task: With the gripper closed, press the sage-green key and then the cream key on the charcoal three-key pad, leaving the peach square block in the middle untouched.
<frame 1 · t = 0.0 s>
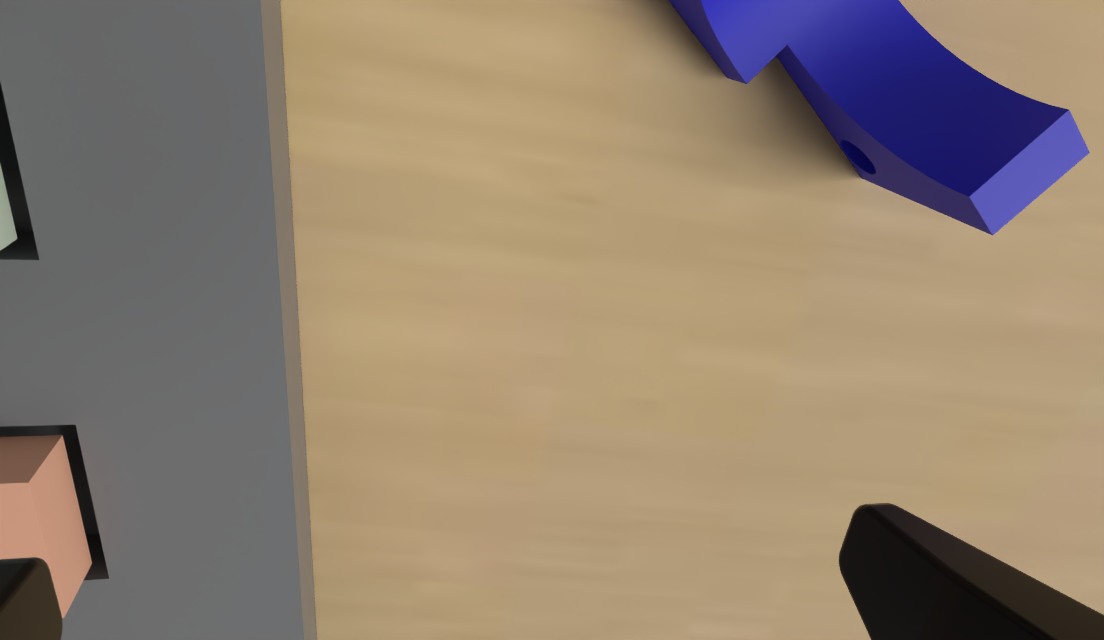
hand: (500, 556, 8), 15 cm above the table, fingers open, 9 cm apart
cable clip: (778, 20, 21), on the table
keypad: (31, 446, 22), on the table
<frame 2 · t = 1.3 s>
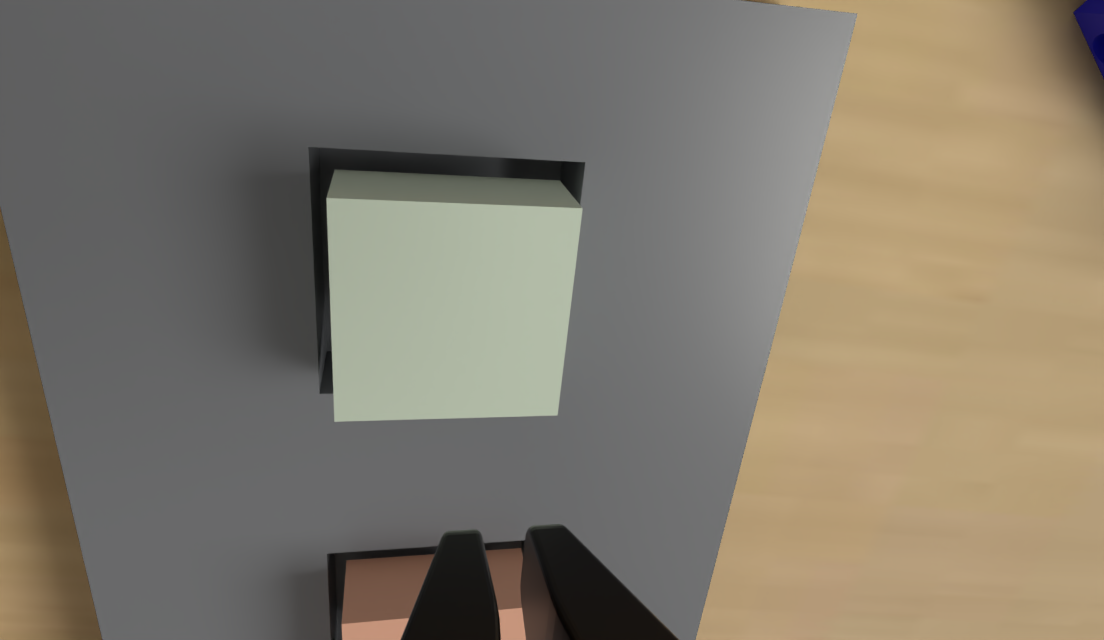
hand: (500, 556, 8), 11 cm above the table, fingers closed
sage key: (450, 297, 14), point 4 cm above the table, slide at 0.0 cm
keypad: (428, 544, 22), on the table
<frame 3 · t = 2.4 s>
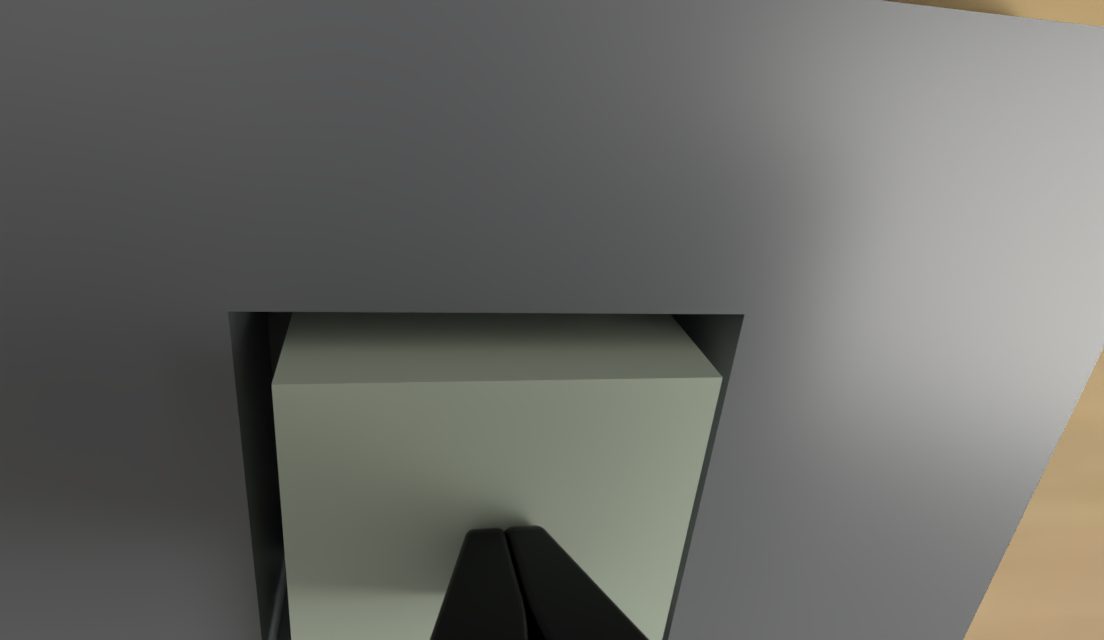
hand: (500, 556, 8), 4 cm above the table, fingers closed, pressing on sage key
sage key: (487, 496, 9), point 3 cm above the table, slide at 1.2 cm, touching gripper
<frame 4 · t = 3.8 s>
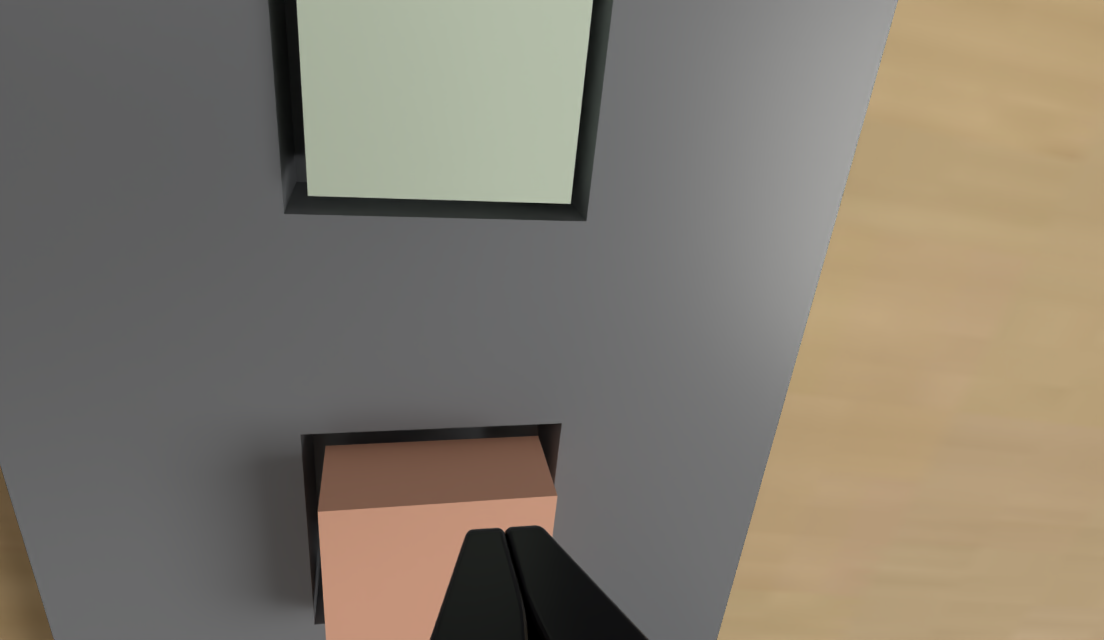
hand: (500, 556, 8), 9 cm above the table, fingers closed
sage key: (444, 55, 12), point 2 cm above the table, slide at 1.4 cm
peach square block: (436, 553, 15), point 4 cm above the table, slide at 0.0 cm
keypad: (426, 447, 19), on the table
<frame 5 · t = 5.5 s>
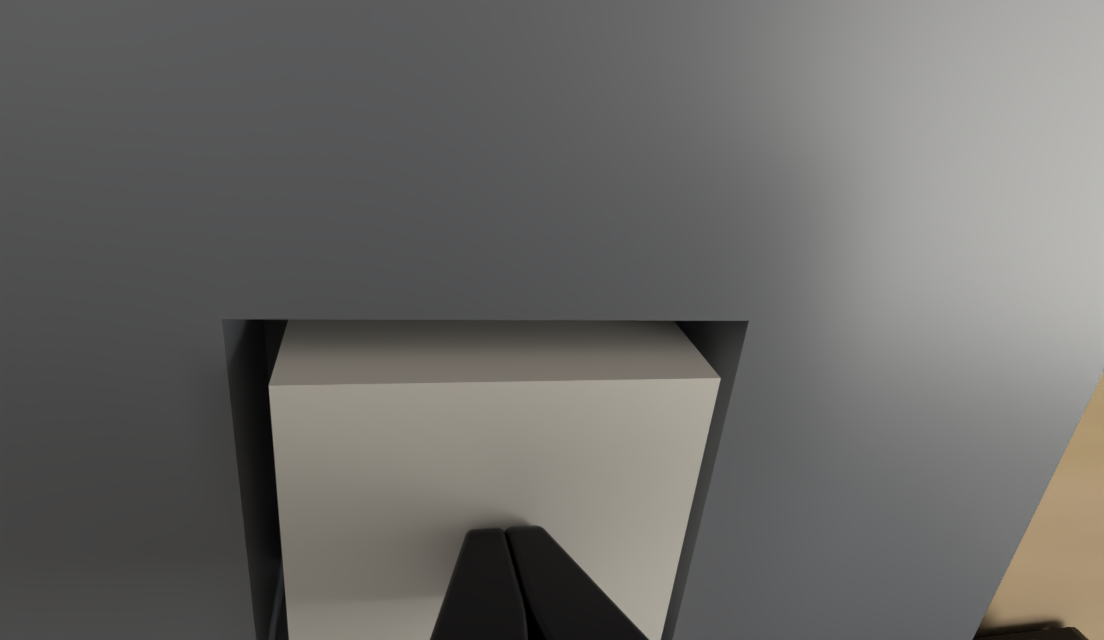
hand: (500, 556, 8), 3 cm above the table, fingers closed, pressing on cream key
cream key: (485, 497, 9), point 2 cm above the table, slide at 1.3 cm, touching gripper
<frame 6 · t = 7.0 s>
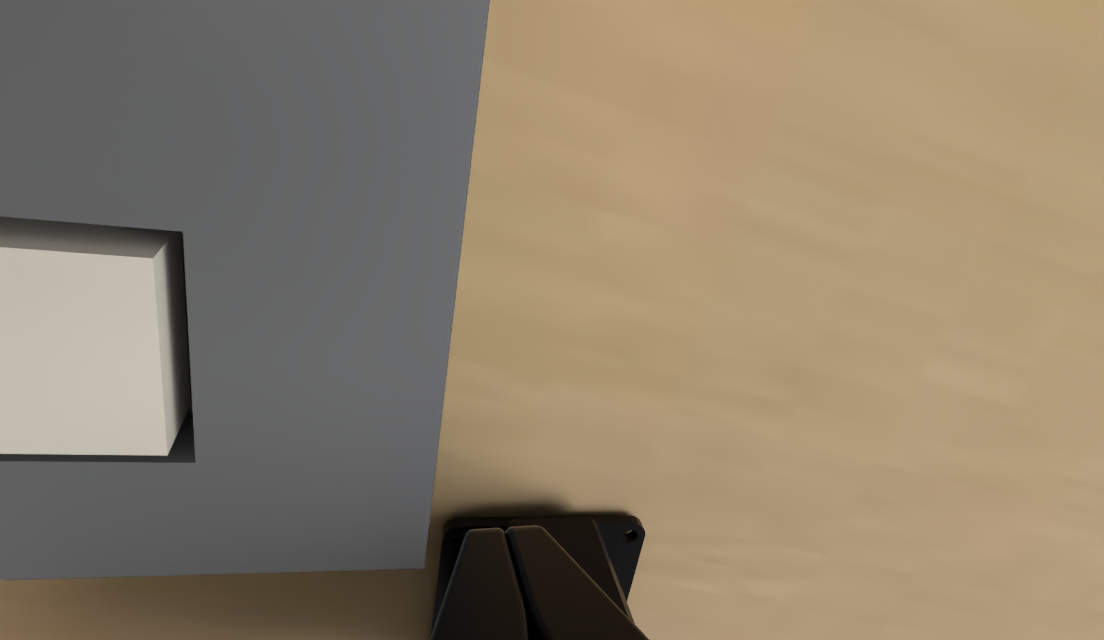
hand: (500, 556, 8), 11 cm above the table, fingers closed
cream key: (53, 334, 14), point 2 cm above the table, slide at 1.4 cm
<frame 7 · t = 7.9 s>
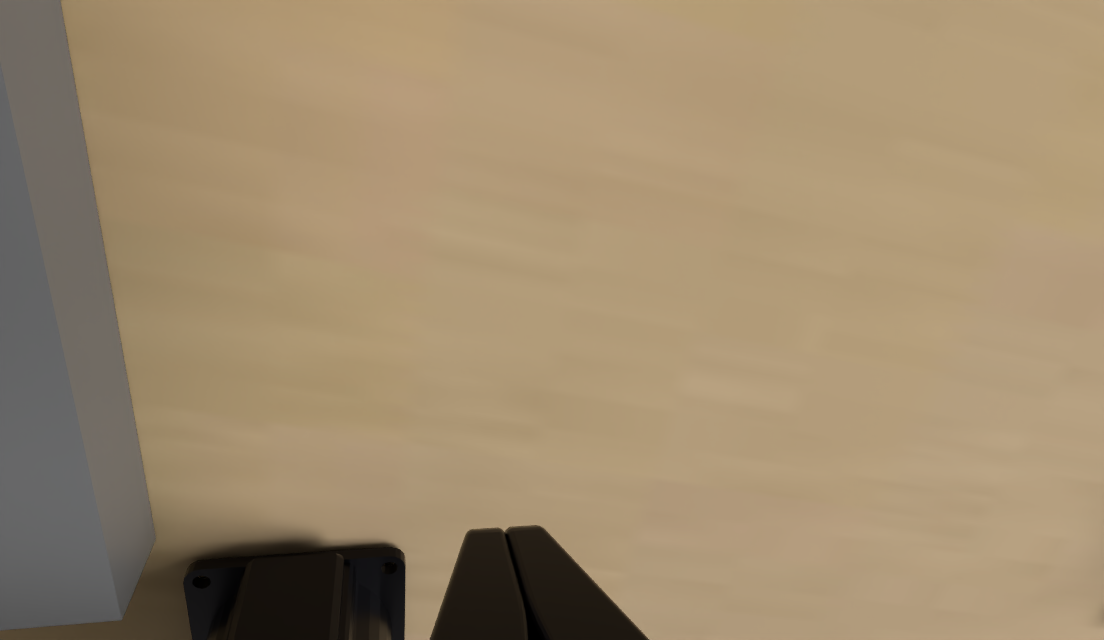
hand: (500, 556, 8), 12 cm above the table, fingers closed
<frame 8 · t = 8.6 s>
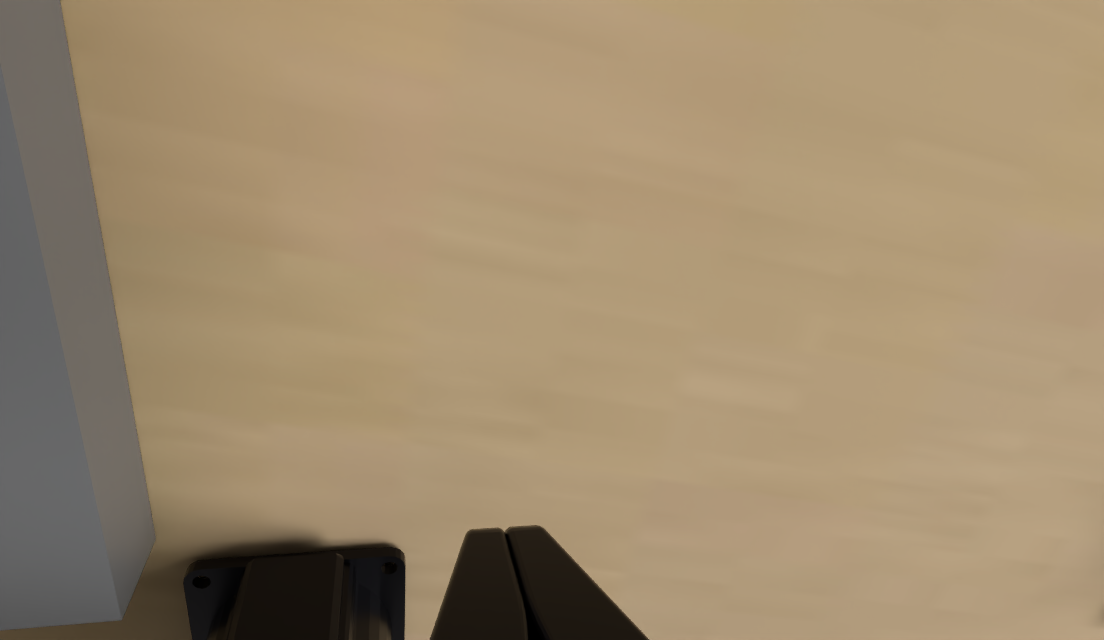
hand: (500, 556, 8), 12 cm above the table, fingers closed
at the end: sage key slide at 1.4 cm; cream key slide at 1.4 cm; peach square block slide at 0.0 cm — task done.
